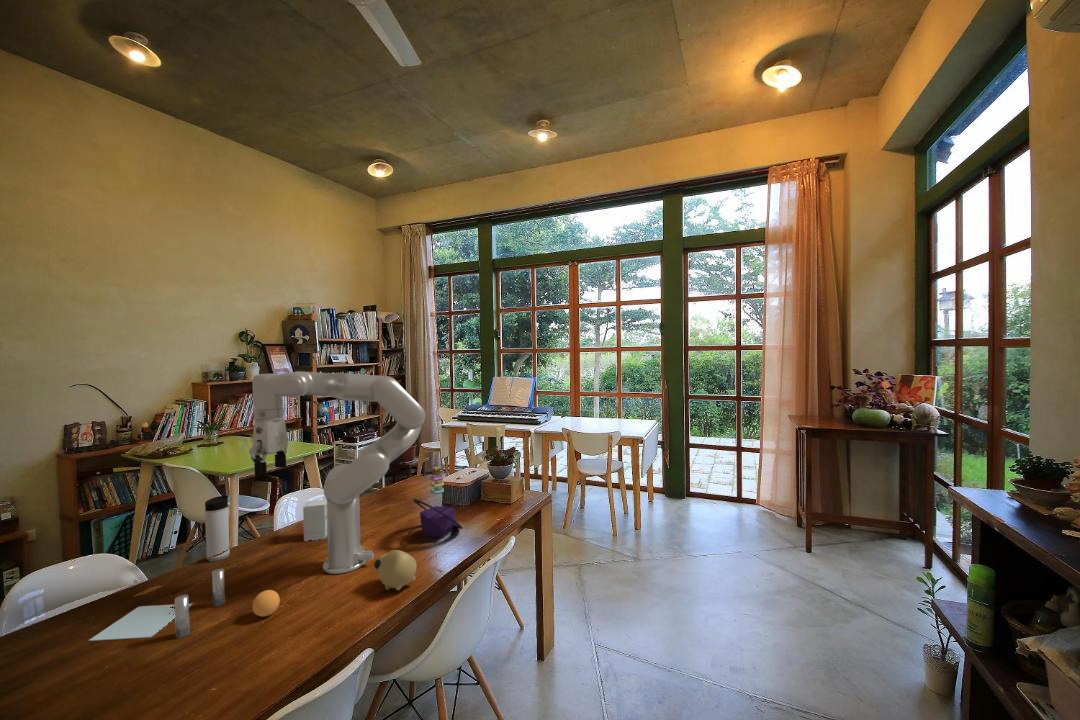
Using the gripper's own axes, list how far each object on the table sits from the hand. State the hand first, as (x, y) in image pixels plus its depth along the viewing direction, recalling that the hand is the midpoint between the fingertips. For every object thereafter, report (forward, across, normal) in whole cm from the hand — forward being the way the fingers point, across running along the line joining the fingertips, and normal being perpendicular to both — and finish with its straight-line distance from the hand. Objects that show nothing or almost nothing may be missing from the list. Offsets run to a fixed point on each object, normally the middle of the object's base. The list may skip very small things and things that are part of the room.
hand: (271, 471), depth 132 cm
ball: (+29, -20, -9) cm, 36 cm away
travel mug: (+32, +14, +28) cm, 45 cm away
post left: (+32, -27, +6) cm, 42 cm away
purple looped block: (+33, +28, -43) cm, 61 cm away
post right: (+32, -14, +7) cm, 36 cm away
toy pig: (+33, -7, -39) cm, 51 cm away
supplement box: (+32, +30, +2) cm, 44 cm away
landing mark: (+32, -21, +21) cm, 44 cm away
